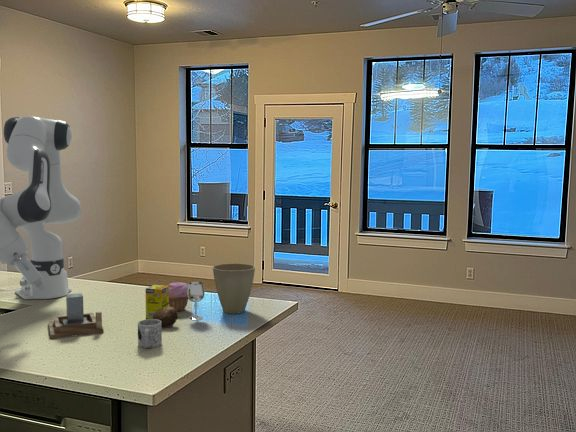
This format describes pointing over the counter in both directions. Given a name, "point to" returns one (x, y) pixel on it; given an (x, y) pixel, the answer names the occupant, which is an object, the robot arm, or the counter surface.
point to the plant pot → (233, 285)
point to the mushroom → (166, 316)
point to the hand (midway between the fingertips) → (38, 285)
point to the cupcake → (178, 295)
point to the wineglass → (195, 296)
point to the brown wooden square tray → (76, 326)
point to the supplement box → (156, 299)
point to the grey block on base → (74, 309)
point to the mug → (149, 333)
